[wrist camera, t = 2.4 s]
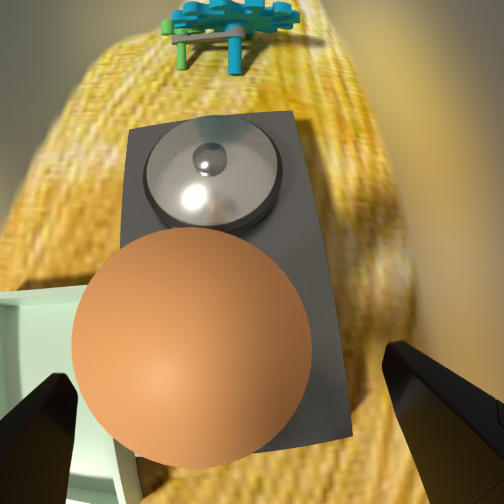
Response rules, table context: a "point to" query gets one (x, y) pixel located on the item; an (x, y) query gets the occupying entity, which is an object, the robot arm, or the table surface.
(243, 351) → the pin
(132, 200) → the plate
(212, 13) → the gear
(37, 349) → the tray
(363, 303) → the table surface
